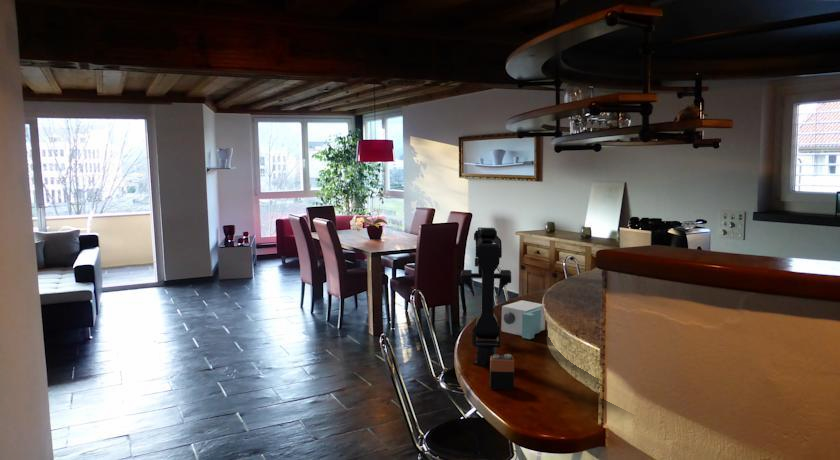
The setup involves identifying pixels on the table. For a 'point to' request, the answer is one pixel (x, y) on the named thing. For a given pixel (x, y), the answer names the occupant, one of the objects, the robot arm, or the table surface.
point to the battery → (502, 372)
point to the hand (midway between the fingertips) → (486, 296)
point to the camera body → (518, 316)
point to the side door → (531, 323)
